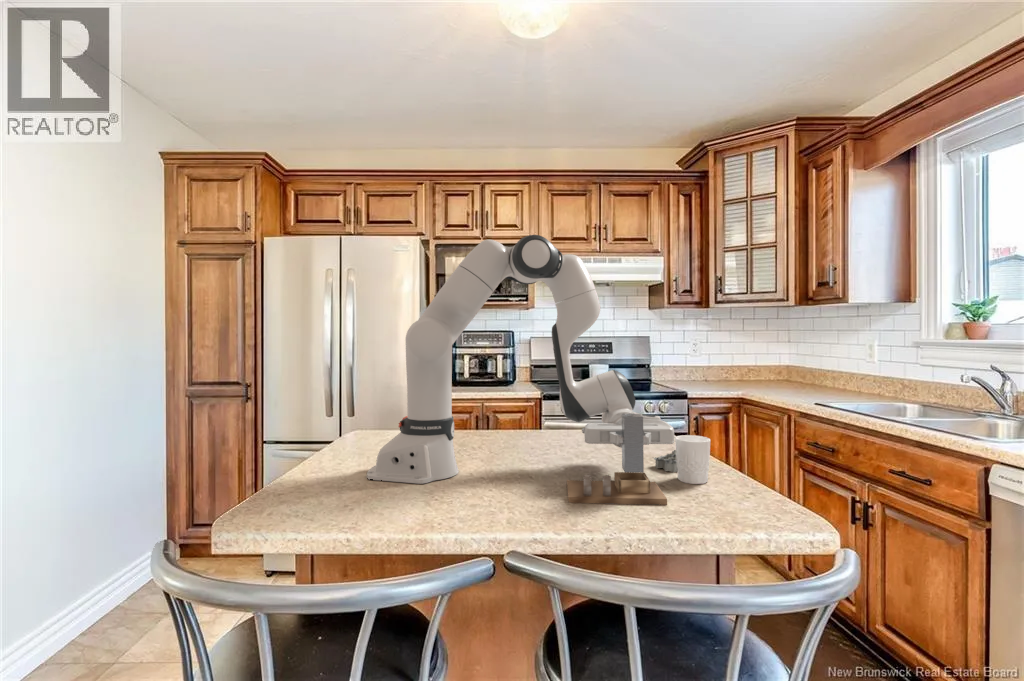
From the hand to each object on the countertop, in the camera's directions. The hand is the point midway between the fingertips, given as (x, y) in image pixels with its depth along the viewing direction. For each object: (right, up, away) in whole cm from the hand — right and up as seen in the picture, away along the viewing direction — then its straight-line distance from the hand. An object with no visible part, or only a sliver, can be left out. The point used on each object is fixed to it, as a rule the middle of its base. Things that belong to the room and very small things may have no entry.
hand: (633, 441), depth 110 cm
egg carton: (+17, -12, +22) cm, 30 cm away
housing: (-4, -12, 0) cm, 12 cm away
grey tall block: (0, -6, +1) cm, 7 cm away
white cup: (+17, -12, +11) cm, 23 cm away
